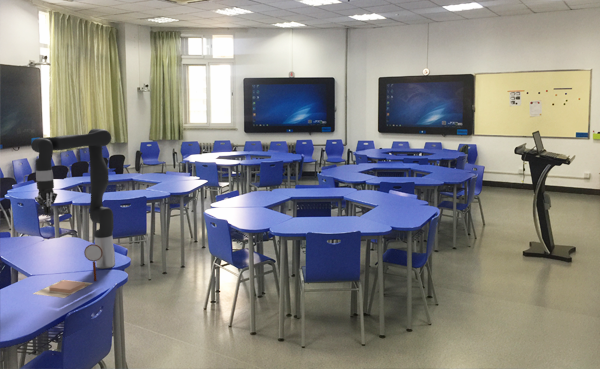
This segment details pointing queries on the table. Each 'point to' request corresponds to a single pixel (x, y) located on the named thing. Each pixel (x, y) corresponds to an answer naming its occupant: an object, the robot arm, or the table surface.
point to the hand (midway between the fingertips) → (47, 213)
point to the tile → (67, 286)
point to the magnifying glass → (93, 255)
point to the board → (57, 294)
